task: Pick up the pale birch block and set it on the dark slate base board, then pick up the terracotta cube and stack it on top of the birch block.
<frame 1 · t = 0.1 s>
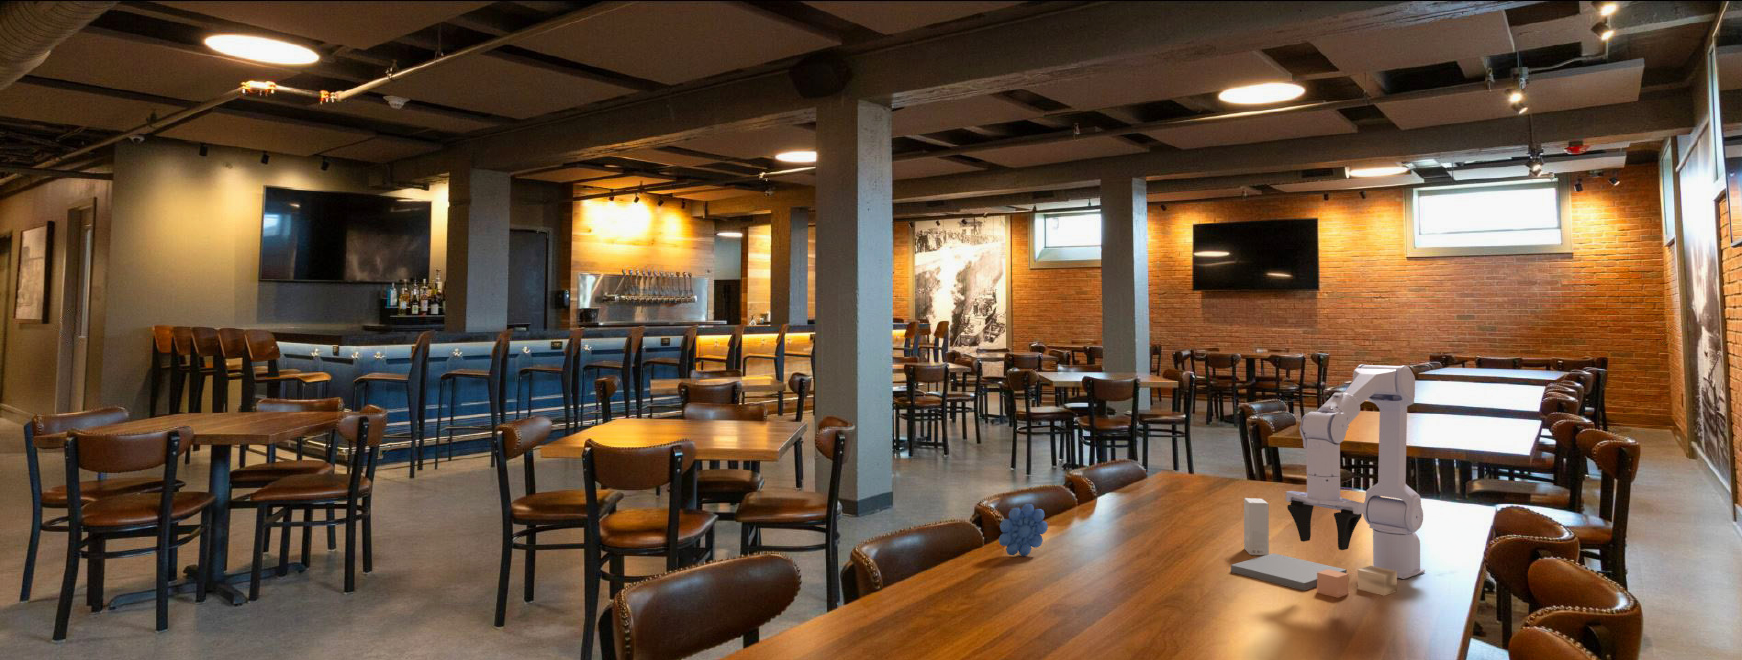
hand: (1324, 544, 165), 10 cm above the table, tool pointing down, fingers open, 7 cm apart
terracotta cube: (1332, 593, 167), on the table
base board: (1288, 574, 180), on the table
birch block: (1377, 590, 169), on the table
blue bead flower: (1022, 555, 198), on the table
skincare box: (1256, 553, 198), on the table
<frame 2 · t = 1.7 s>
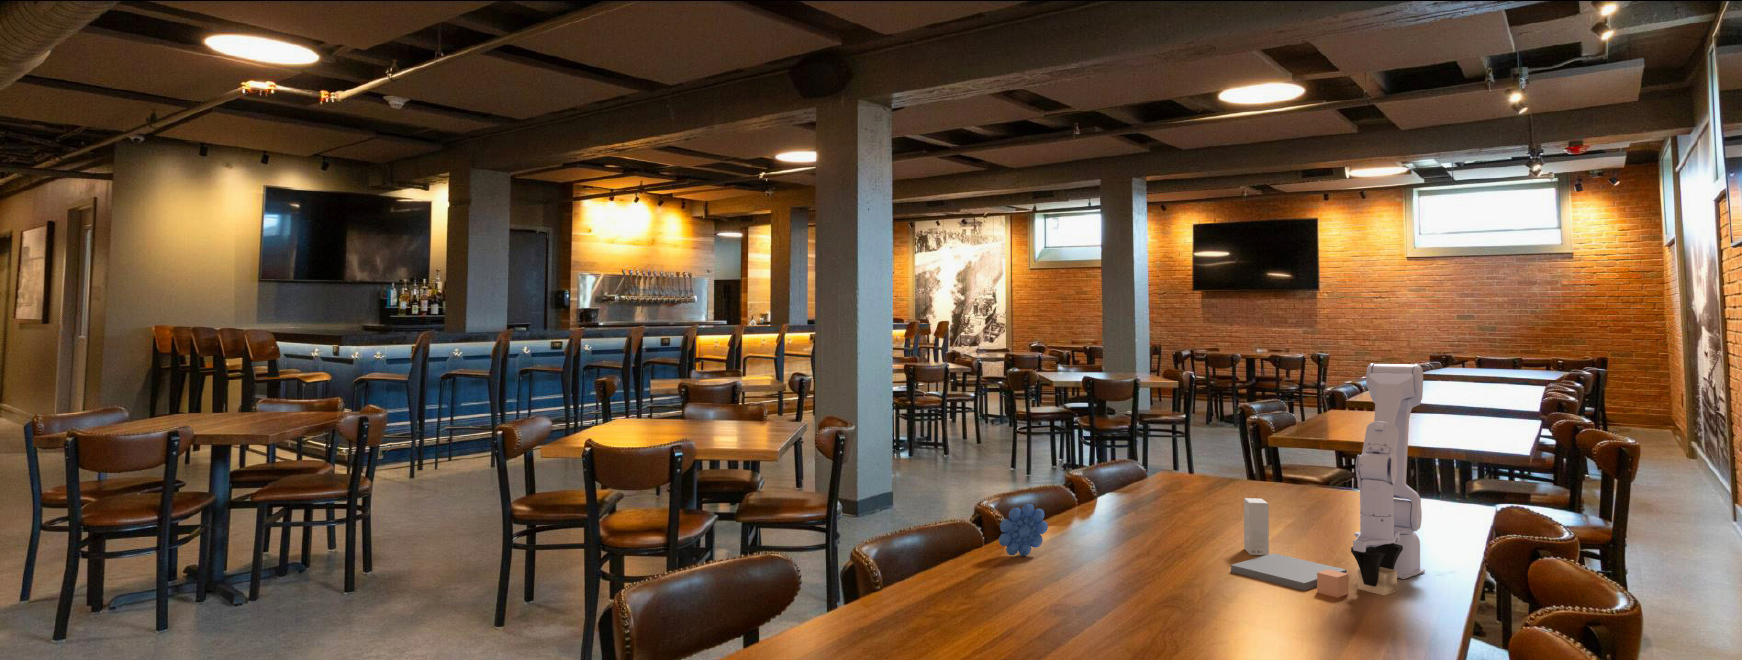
hand: (1377, 582, 169), 1 cm above the table, tool pointing down, fingers closed on birch block, 5 cm apart
birch block: (1377, 590, 169), on the table, touching gripper
everything else where it was.
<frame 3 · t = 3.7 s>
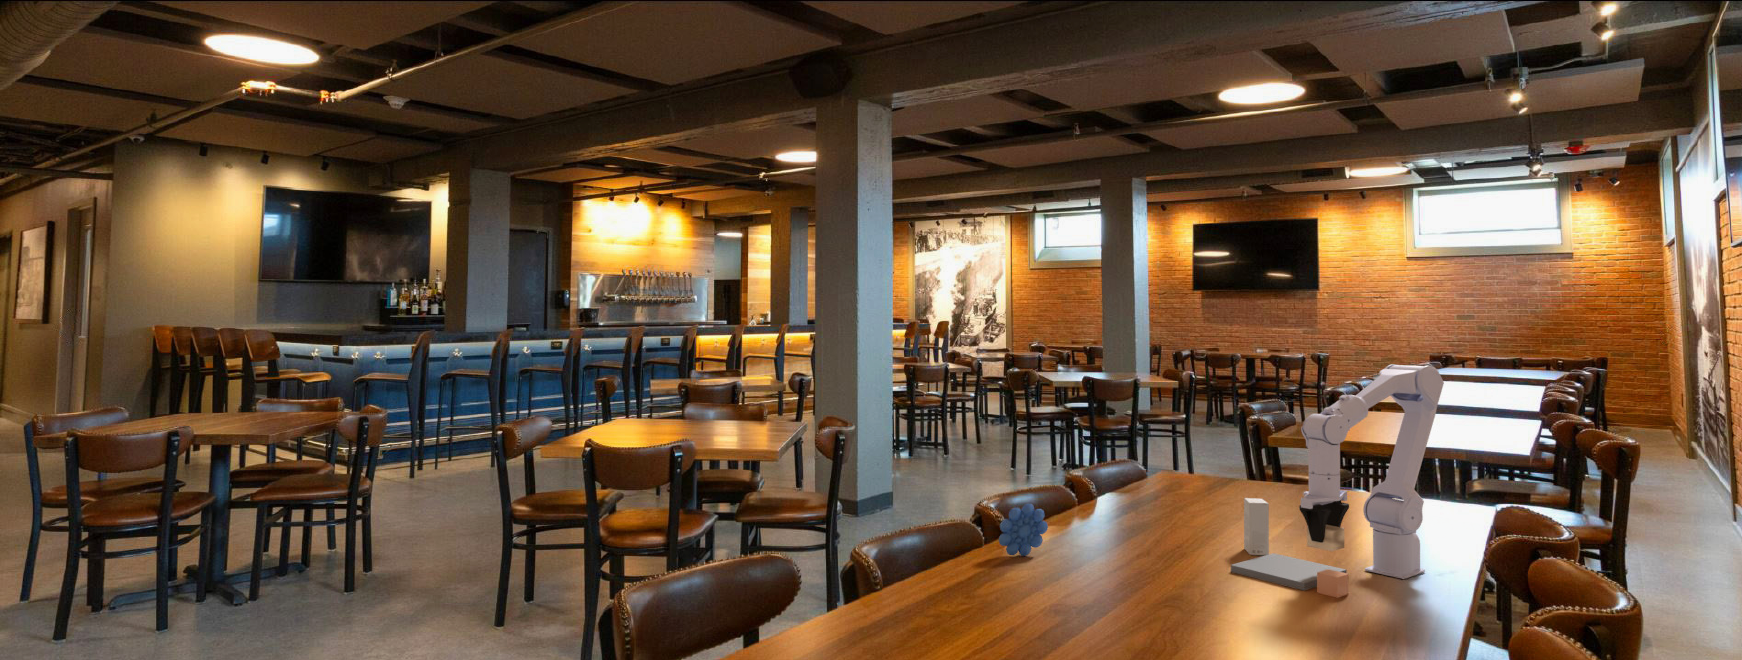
hand: (1324, 539, 175), 8 cm above the table, tool pointing down, fingers closed on birch block, 5 cm apart
birch block: (1325, 547, 175), point 7 cm above the table, touching gripper
everything else where it was.
when the fingers open (4 cm above the table, at t = 5.4 s): birch block drops 1 cm, resting on base board.
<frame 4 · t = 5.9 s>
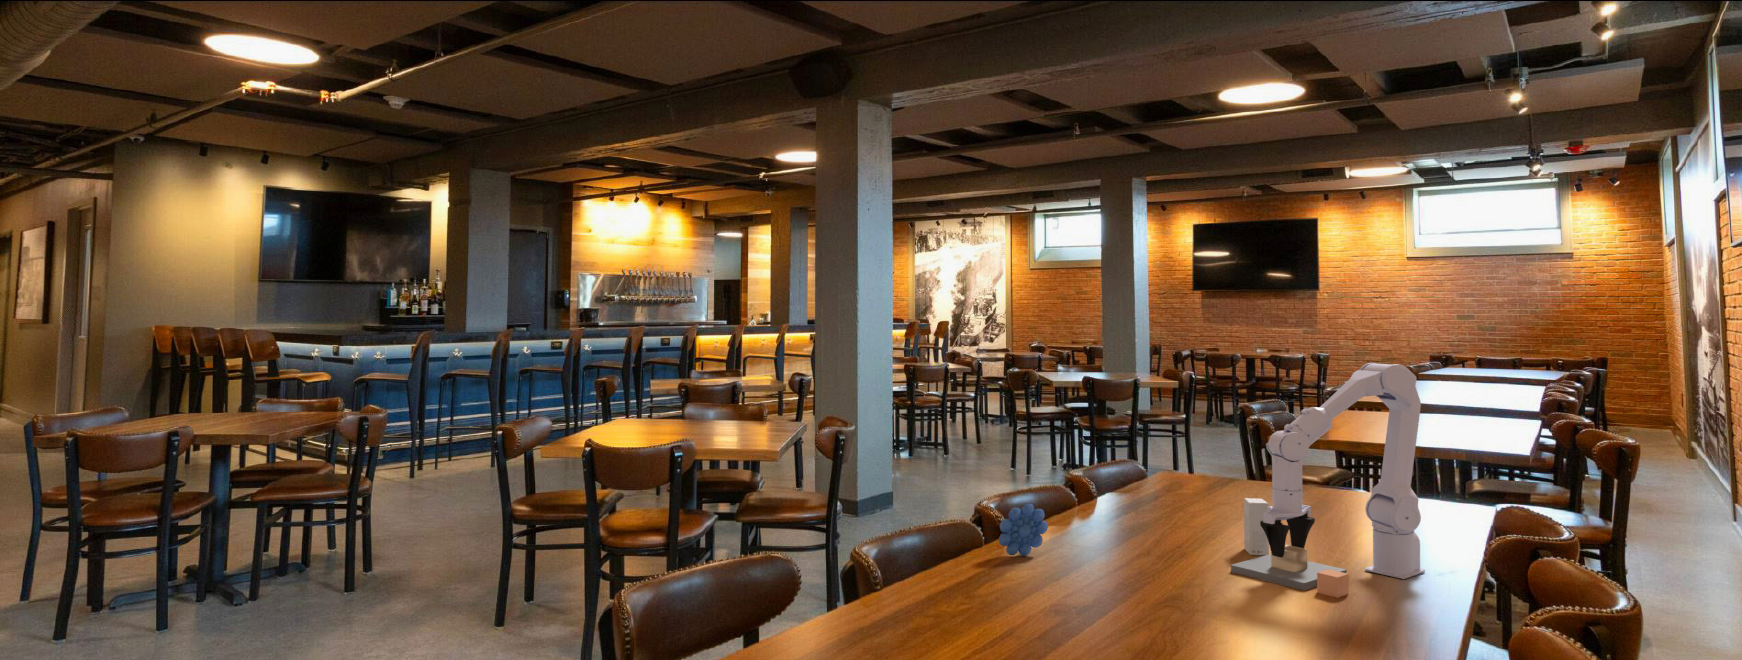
hand: (1287, 553, 180), 4 cm above the table, tool pointing down, fingers open, 7 cm apart
birch block: (1289, 567, 180), point 1 cm above the table, touching base board
everything else where it was.
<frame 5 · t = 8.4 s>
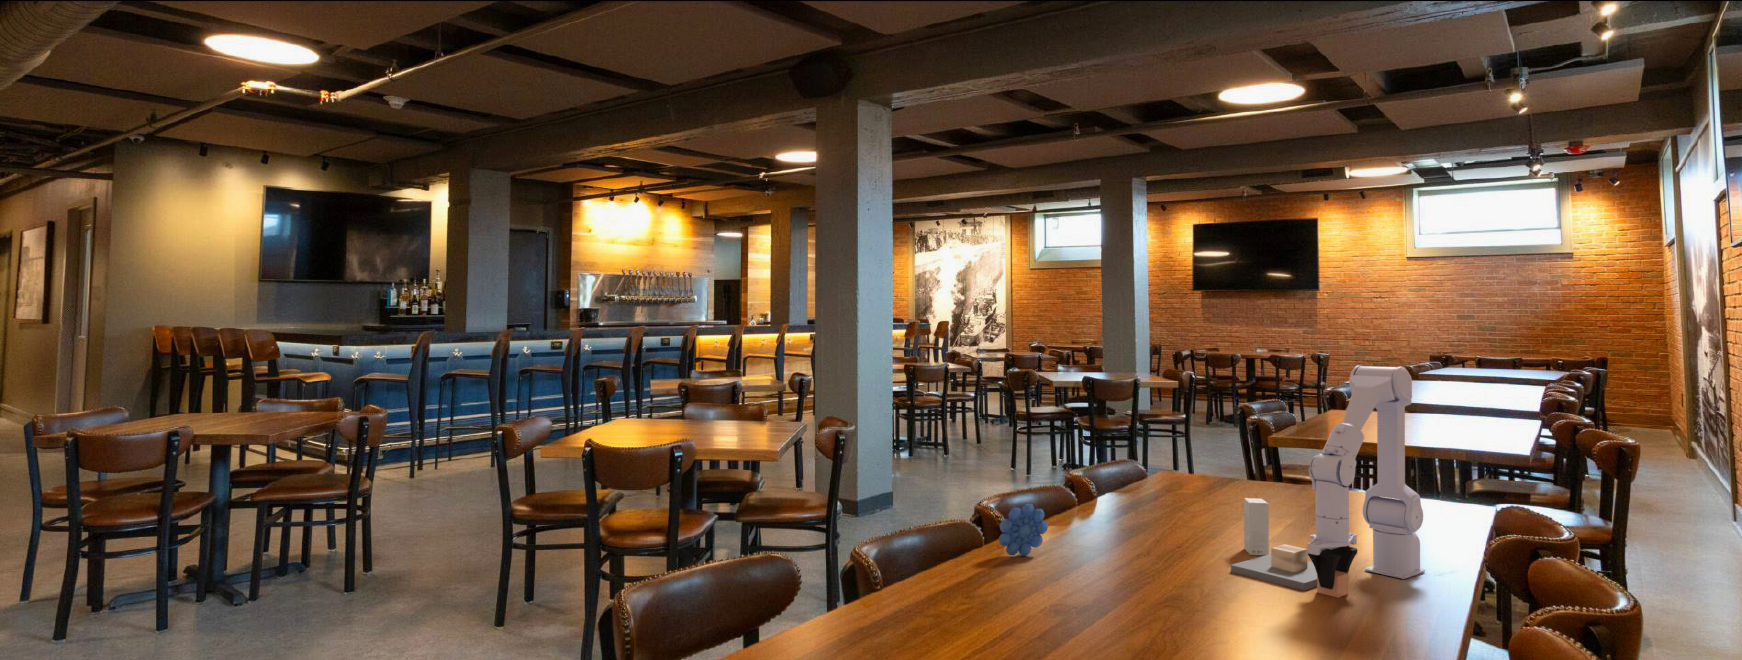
hand: (1332, 585, 167), 1 cm above the table, tool pointing down, fingers closed on terracotta cube, 4 cm apart
terracotta cube: (1332, 593, 167), on the table, touching gripper
everything else where it was.
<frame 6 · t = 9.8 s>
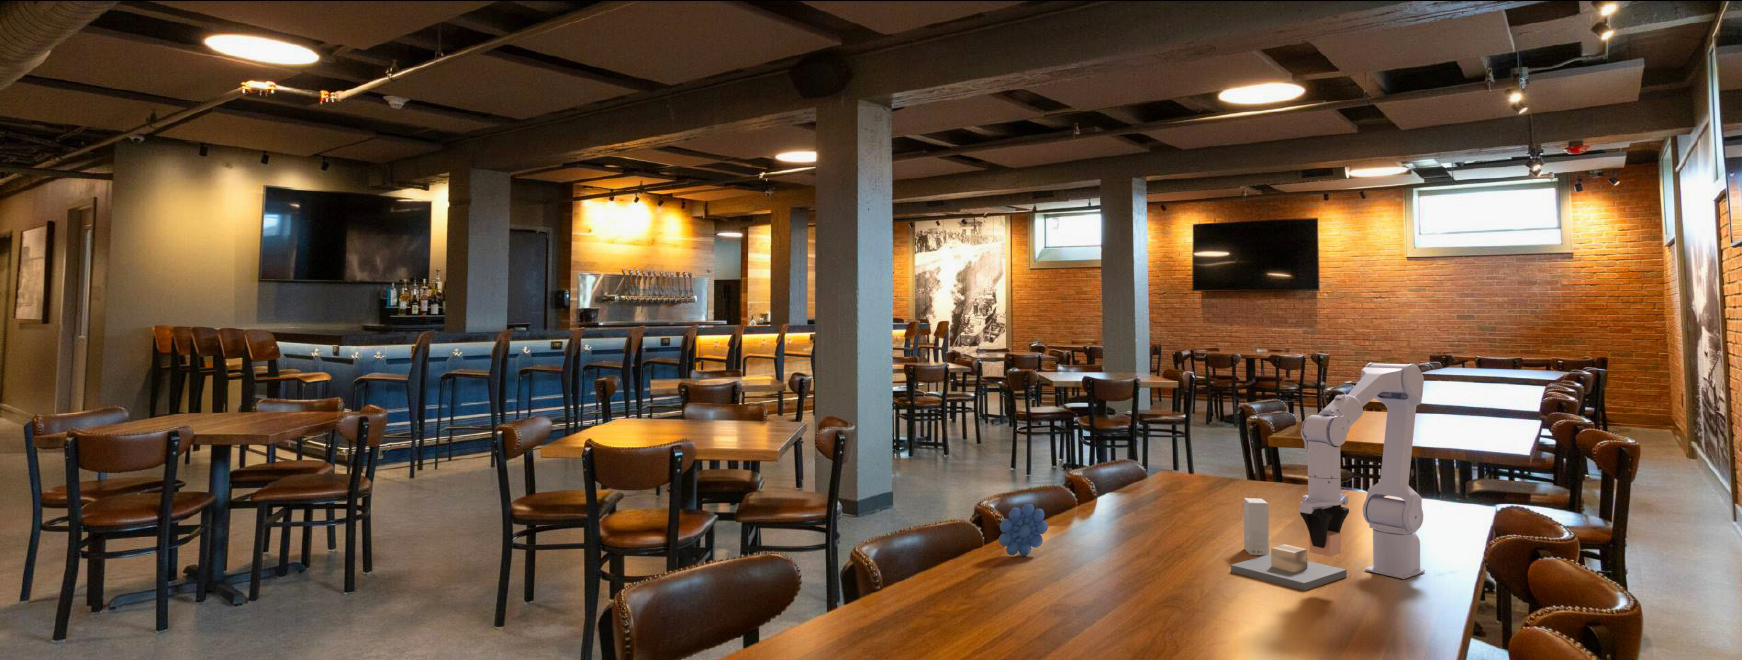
hand: (1324, 545, 170), 9 cm above the table, tool pointing down, fingers closed on terracotta cube, 4 cm apart
terracotta cube: (1325, 552, 170), point 7 cm above the table, touching gripper
everything else where it was.
when the fingers open (8 cm above the table, at t = 11.2 s): terracotta cube stays where it is, resting on birch block.
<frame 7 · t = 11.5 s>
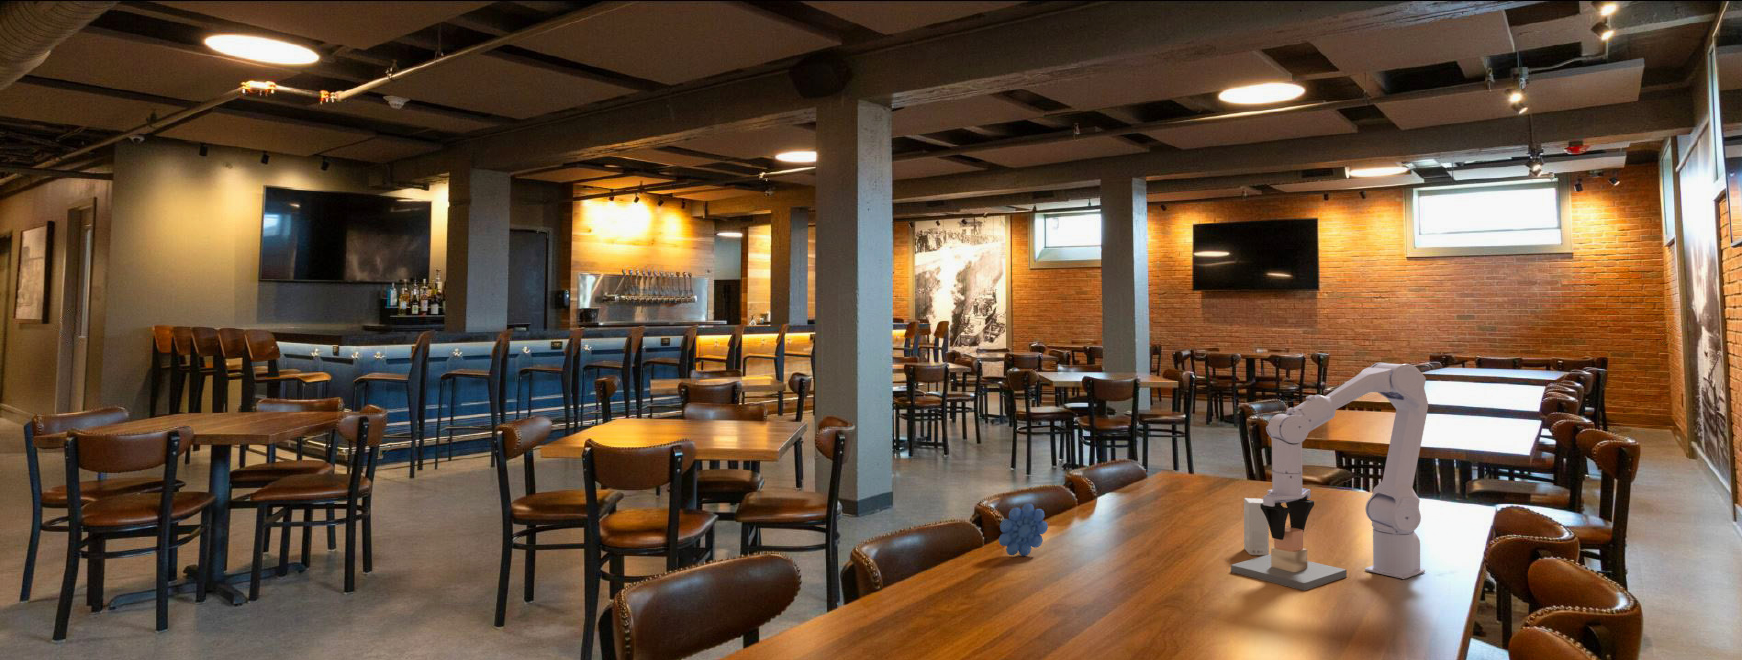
hand: (1287, 536, 180), 8 cm above the table, tool pointing down, fingers open, 7 cm apart
terracotta cube: (1288, 548, 180), point 5 cm above the table, touching birch block
birch block: (1289, 567, 180), point 1 cm above the table, touching base board, terracotta cube
everything else where it was.
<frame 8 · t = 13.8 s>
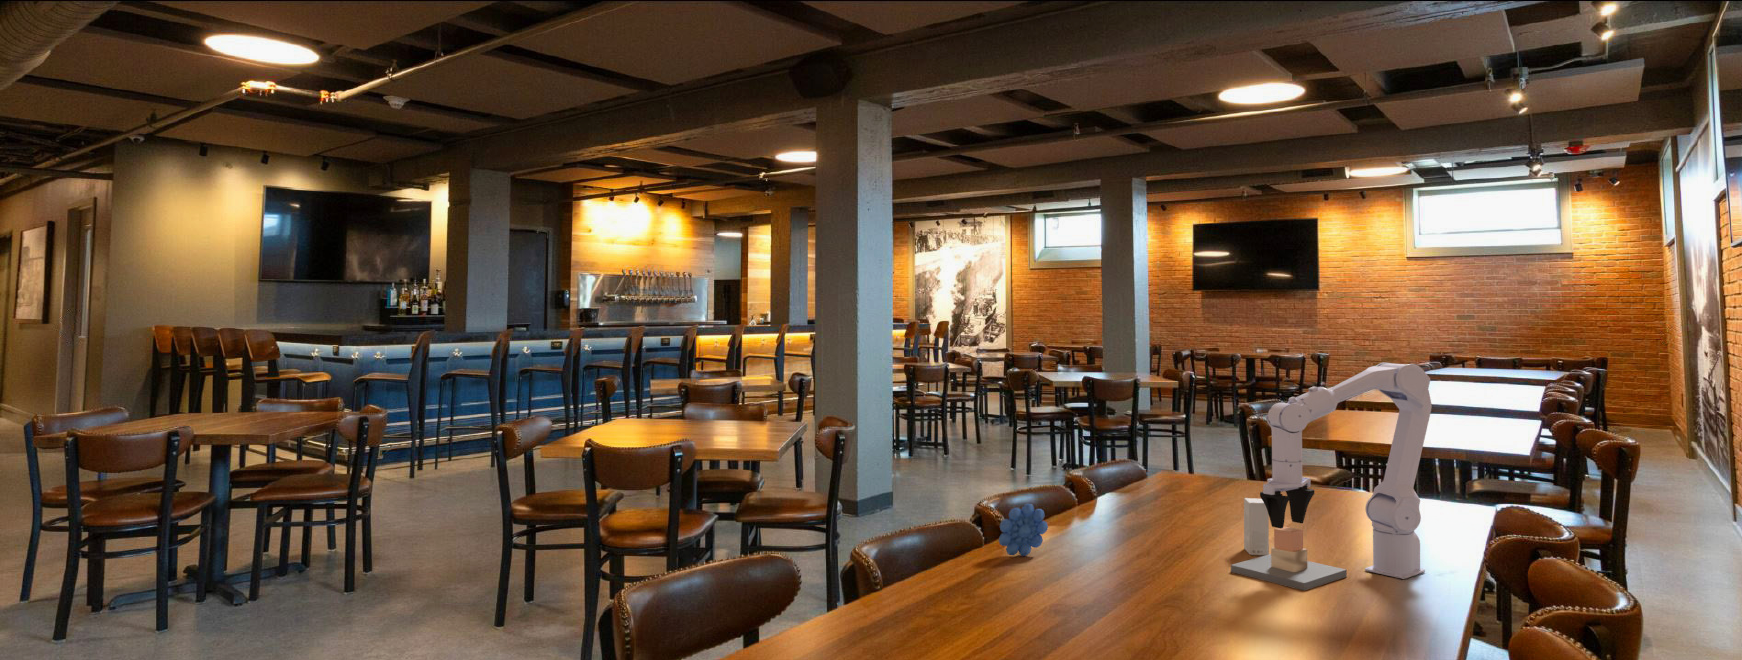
hand: (1287, 524, 180), 10 cm above the table, tool pointing down, fingers open, 7 cm apart
nothing on the table moved.
at the end: birch block inside the target area on the base board (0.3 cm from its centre), point 1.5 cm above the base board's base; terracotta cube 0.1 cm off-centre on the birch block, point 4.0 cm above the birch block's base; terracotta cube tilted 0° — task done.
